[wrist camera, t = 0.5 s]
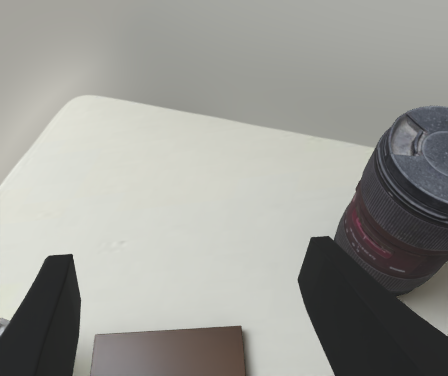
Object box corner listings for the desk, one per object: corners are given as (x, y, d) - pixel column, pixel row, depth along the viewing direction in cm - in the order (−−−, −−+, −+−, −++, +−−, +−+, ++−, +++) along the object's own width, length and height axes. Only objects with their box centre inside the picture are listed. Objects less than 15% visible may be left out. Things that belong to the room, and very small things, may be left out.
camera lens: (314, 287, 33) (372, 180, 21) (336, 212, 38) (394, 88, 26) (413, 324, 32) (537, 231, 19) (423, 241, 36) (530, 124, 24)
